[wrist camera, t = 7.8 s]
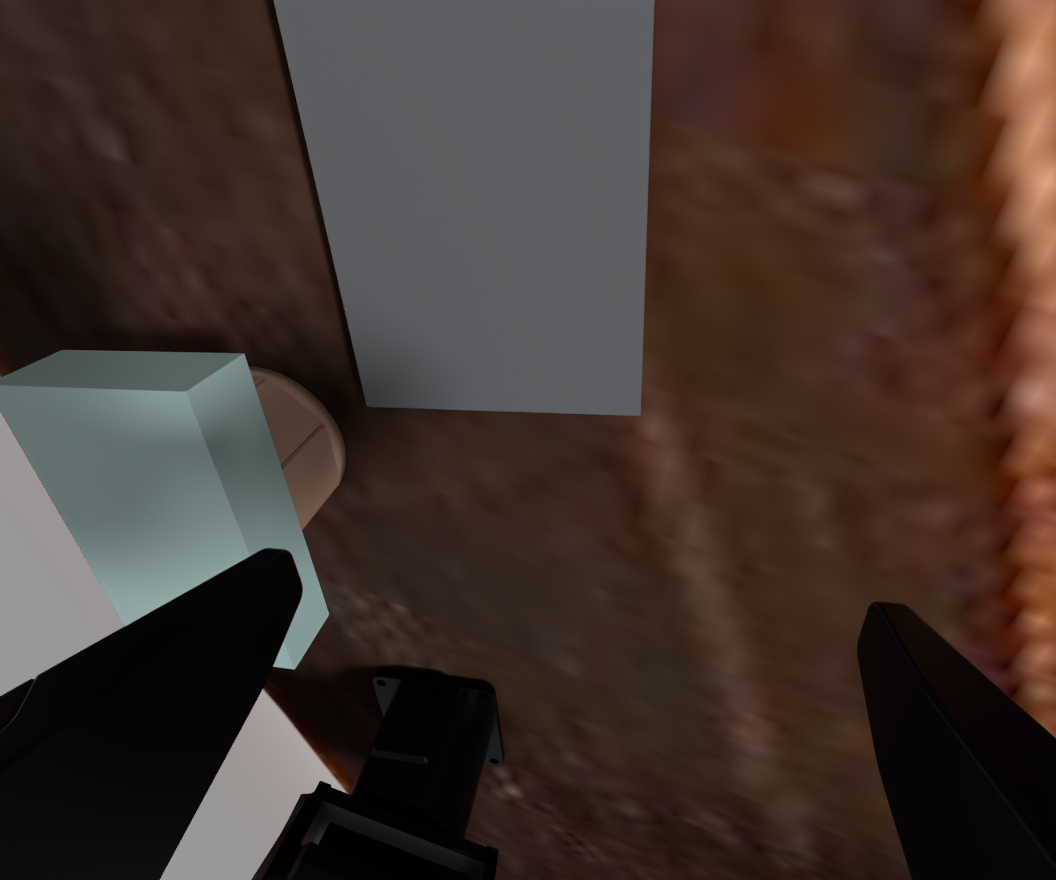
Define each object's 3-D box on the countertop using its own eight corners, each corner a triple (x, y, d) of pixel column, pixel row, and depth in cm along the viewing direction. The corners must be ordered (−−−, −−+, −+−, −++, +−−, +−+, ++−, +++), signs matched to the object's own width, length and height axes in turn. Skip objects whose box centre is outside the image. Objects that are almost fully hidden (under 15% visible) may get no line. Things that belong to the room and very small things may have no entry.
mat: (640, 407, 21) (640, 416, 20) (373, 399, 23) (366, 406, 22) (658, -139, 14) (658, -147, 13) (266, -81, 16) (253, -86, 15)
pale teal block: (329, 614, 23) (294, 669, 21) (183, 597, 25) (137, 648, 23) (244, 353, 18) (185, 391, 16) (62, 349, 19) (-16, 384, 17)
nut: (361, 508, 26) (315, 572, 22) (226, 498, 27) (164, 558, 24) (324, 367, 22) (264, 418, 19) (172, 364, 24) (91, 411, 20)
